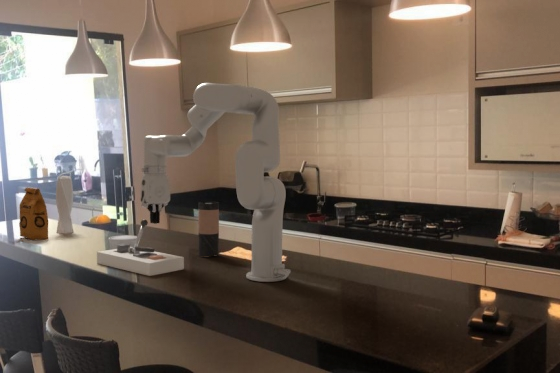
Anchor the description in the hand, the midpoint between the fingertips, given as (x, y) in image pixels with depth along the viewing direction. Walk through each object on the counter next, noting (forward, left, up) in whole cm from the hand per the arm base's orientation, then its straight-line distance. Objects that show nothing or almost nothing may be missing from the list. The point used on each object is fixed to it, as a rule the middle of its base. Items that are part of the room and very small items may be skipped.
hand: (154, 223), depth 202 cm
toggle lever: (0, +9, -9) cm, 12 cm away
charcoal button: (+6, +9, -11) cm, 15 cm away
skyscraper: (+84, -14, -14) cm, 86 cm away
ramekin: (+26, -5, -14) cm, 30 cm away
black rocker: (-6, +9, -8) cm, 13 cm away
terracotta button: (-12, +9, -12) cm, 19 cm away
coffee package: (+78, +4, -14) cm, 79 cm away
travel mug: (-6, -20, -14) cm, 25 cm away
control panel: (-3, +9, -14) cm, 16 cm away
